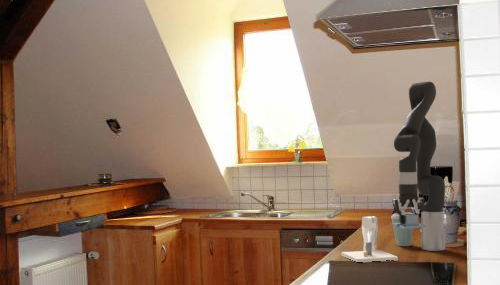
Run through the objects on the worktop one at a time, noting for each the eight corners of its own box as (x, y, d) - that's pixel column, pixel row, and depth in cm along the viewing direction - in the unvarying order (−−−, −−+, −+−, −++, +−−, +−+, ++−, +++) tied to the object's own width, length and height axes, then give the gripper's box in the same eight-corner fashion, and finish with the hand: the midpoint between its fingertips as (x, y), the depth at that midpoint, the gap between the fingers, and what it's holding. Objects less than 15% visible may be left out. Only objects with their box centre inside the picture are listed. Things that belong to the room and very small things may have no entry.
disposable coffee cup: (405, 247, 260) (405, 215, 261) (386, 245, 269) (386, 213, 269) (419, 245, 267) (419, 213, 267) (400, 242, 275) (399, 211, 276)
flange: (413, 224, 243) (413, 212, 243) (426, 227, 233) (426, 215, 233) (392, 225, 241) (392, 213, 241) (404, 228, 231) (404, 216, 231)
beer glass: (378, 249, 257) (378, 216, 257) (377, 252, 250) (377, 218, 250) (362, 249, 259) (362, 215, 259) (361, 251, 252) (361, 217, 252)
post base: (380, 253, 247) (380, 238, 247) (397, 260, 231) (397, 244, 231) (341, 255, 243) (341, 240, 243) (356, 262, 227) (356, 246, 227)
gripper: (418, 181, 242) (419, 221, 242) (388, 183, 239) (389, 223, 239) (428, 182, 235) (429, 223, 235) (396, 184, 232) (397, 225, 232)
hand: (409, 223), depth 237 cm, fingers closed on flange, 5 cm apart
